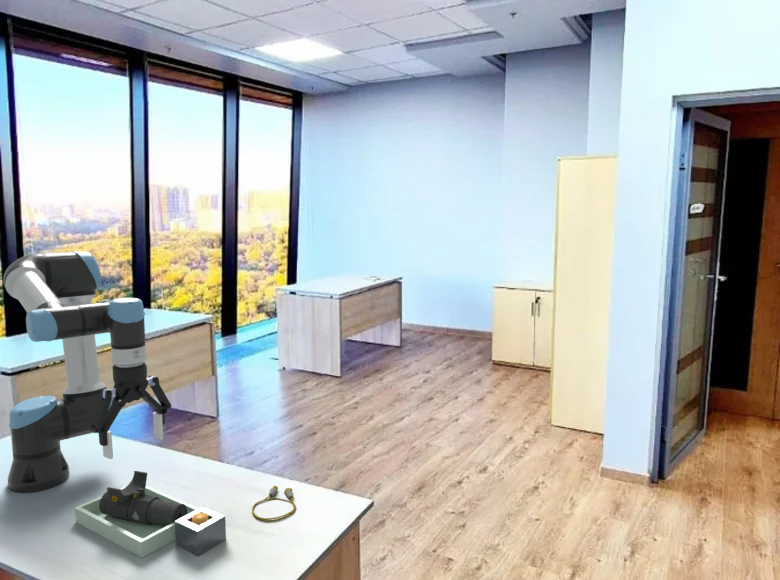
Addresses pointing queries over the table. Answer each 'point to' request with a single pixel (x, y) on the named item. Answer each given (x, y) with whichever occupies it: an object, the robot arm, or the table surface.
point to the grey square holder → (200, 532)
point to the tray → (129, 526)
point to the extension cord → (272, 492)
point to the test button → (199, 518)
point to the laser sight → (140, 504)
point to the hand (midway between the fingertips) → (134, 447)
